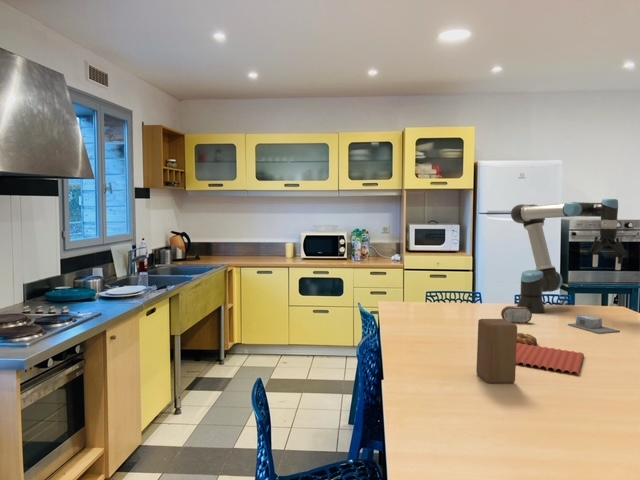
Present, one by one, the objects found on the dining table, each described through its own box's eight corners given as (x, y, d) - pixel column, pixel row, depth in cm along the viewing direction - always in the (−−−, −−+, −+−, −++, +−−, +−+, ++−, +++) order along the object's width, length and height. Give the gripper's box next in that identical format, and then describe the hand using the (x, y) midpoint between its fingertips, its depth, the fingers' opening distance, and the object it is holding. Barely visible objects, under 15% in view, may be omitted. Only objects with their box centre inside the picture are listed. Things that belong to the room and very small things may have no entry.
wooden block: (475, 373, 169) (477, 318, 167) (502, 373, 170) (504, 318, 168) (487, 384, 159) (489, 325, 157) (516, 383, 160) (518, 325, 158)
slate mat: (567, 325, 245) (567, 323, 245) (588, 323, 249) (588, 322, 249) (598, 333, 228) (598, 332, 228) (619, 331, 233) (619, 330, 232)
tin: (530, 322, 250) (530, 306, 249) (532, 323, 247) (533, 307, 246) (500, 321, 251) (501, 305, 251) (502, 322, 248) (502, 306, 247)
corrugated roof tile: (578, 377, 168) (578, 372, 168) (495, 363, 183) (496, 358, 183) (583, 357, 192) (583, 352, 192) (510, 346, 207) (510, 341, 206)
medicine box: (575, 316, 243) (588, 315, 246) (575, 324, 243) (588, 323, 246) (589, 319, 236) (602, 318, 238) (588, 328, 236) (601, 327, 239)
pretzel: (530, 349, 202) (531, 340, 202) (505, 343, 210) (505, 335, 209) (541, 343, 210) (541, 335, 210) (516, 338, 218) (517, 330, 218)
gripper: (583, 227, 261) (581, 265, 263) (625, 229, 238) (622, 271, 239) (593, 227, 264) (591, 265, 265) (636, 229, 240) (633, 271, 242)
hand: (606, 268), depth 252 cm, fingers open, 13 cm apart
